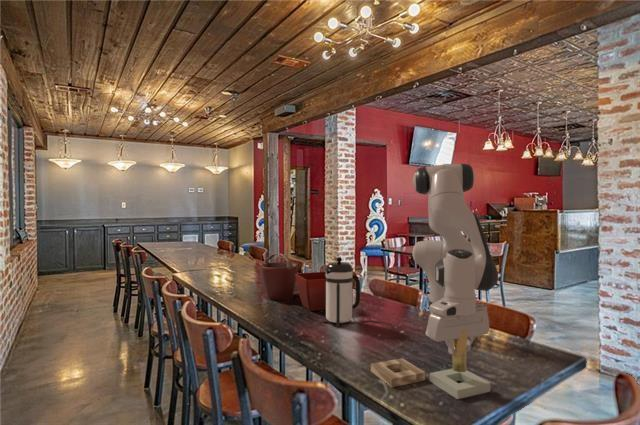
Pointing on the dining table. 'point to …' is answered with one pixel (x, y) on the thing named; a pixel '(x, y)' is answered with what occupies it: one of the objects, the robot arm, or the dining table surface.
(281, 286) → the bucket
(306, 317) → the dining table surface
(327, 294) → the coffee press
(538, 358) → the dining table surface
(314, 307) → the plant pot
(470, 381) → the socket block
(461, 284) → the robot arm
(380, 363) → the birch mount
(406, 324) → the dining table surface
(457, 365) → the pin
